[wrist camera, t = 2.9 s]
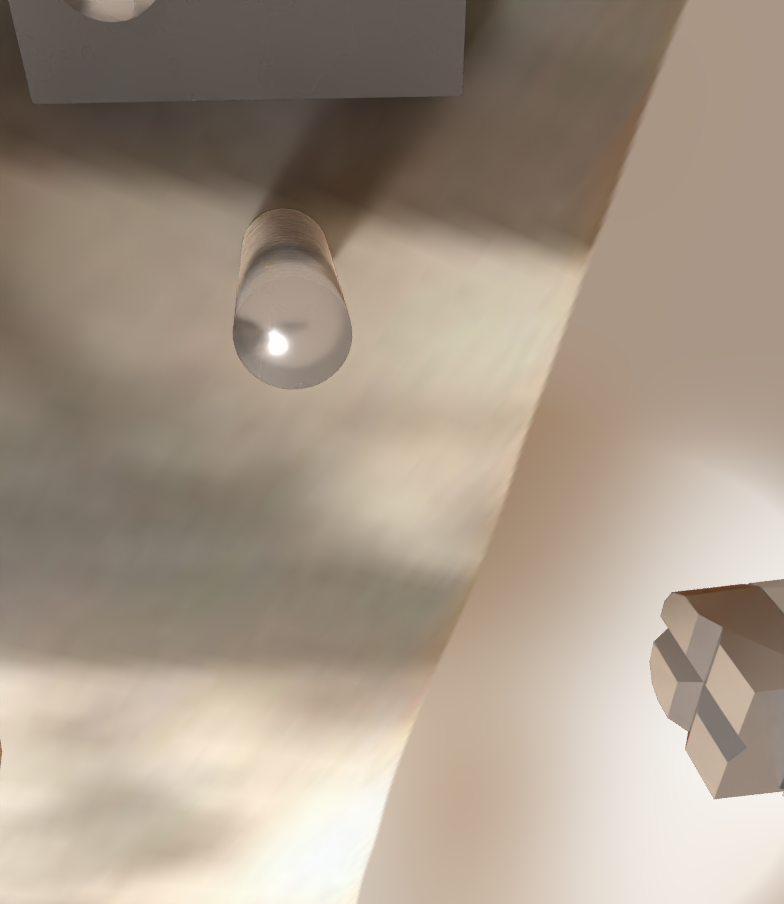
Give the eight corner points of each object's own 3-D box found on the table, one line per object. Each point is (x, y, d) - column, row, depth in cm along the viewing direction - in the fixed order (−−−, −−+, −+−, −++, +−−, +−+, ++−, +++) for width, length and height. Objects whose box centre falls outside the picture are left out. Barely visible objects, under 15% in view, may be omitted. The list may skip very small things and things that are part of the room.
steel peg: (330, 292, 26) (353, 385, 19) (246, 296, 26) (240, 393, 19) (326, 206, 24) (349, 274, 18) (236, 210, 24) (225, 280, 17)
